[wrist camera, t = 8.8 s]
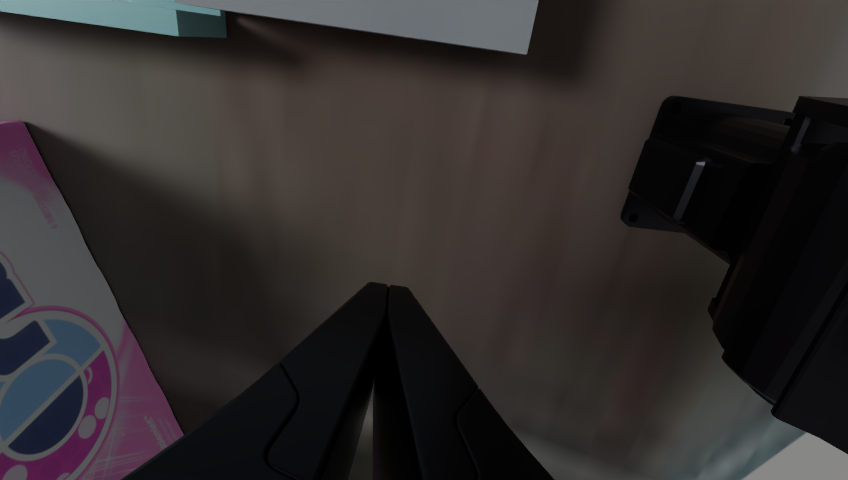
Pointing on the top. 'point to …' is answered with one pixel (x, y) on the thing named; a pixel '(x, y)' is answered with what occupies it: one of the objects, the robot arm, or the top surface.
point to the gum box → (64, 342)
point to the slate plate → (405, 18)
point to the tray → (128, 15)
